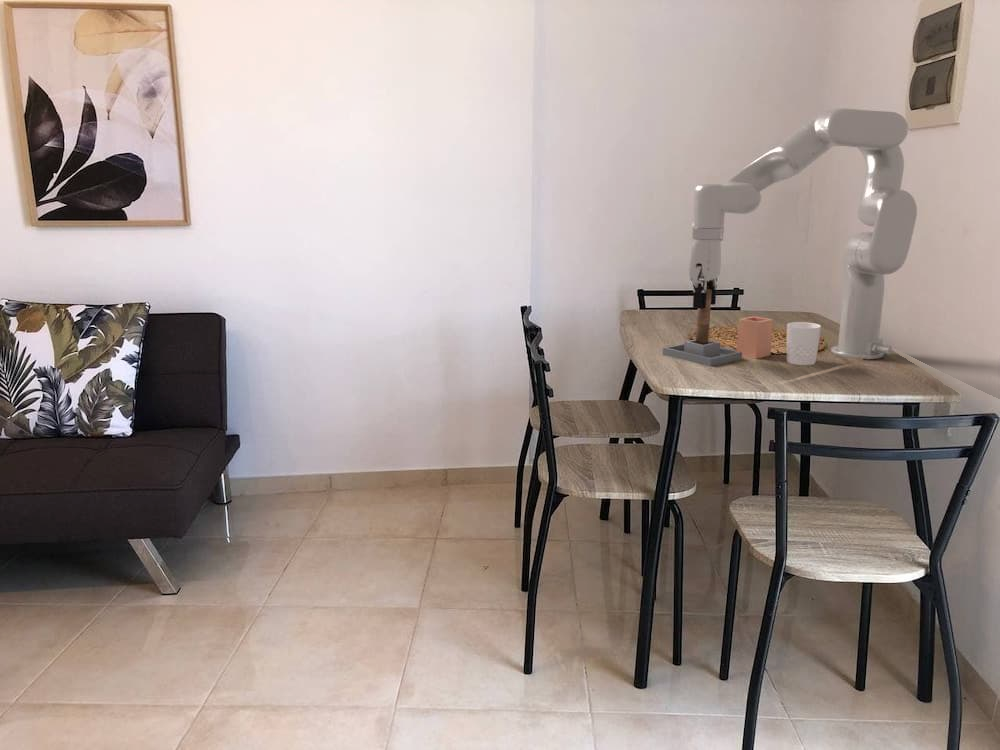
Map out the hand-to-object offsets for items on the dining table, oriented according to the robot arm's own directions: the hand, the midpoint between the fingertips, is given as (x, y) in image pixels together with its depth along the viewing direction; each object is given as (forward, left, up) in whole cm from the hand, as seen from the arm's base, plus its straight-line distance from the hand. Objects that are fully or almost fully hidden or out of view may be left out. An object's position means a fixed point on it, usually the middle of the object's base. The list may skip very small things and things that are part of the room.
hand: (704, 305), depth 200 cm
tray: (0, 0, -14) cm, 14 cm away
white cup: (-19, -15, -14) cm, 28 cm away
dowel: (0, 0, -13) cm, 13 cm away
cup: (-7, -12, -14) cm, 20 cm away
